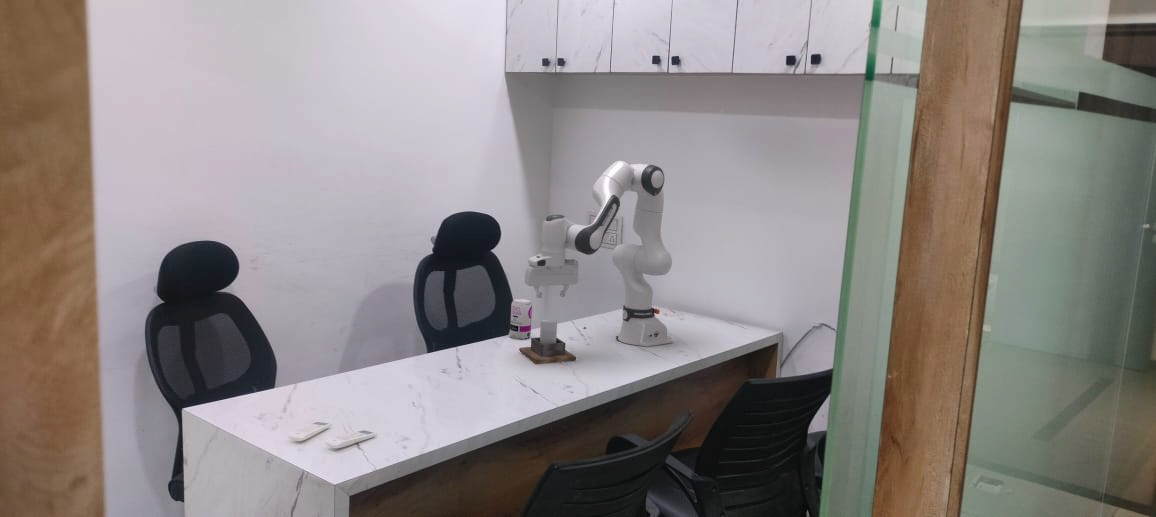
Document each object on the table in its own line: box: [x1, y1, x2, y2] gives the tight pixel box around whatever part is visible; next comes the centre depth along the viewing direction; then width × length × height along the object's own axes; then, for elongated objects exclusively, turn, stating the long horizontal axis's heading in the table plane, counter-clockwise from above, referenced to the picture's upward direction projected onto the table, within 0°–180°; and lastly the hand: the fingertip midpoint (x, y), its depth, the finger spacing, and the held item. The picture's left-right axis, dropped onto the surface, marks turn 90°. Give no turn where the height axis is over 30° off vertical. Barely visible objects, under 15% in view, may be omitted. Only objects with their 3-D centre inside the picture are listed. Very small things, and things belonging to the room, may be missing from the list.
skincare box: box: [539, 318, 558, 344], centre depth 292 cm, size 6×4×12 cm
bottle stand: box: [518, 336, 577, 365], centre depth 292 cm, size 16×16×6 cm
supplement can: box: [509, 297, 533, 340], centre depth 316 cm, size 8×8×15 cm
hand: (550, 296), depth 289 cm, fingers open, 8 cm apart
